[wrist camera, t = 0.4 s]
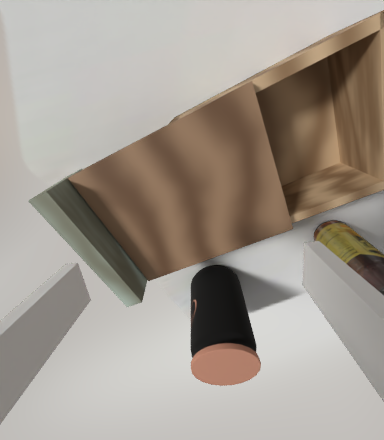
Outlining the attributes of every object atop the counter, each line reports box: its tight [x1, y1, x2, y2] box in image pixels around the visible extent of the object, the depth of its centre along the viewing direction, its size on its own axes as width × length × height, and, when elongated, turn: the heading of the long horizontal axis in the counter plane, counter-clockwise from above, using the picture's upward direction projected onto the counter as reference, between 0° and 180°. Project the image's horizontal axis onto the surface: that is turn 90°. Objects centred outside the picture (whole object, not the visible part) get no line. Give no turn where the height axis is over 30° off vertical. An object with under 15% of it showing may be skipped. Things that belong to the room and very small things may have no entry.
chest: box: [169, 10, 384, 223], centre depth 29 cm, size 22×18×10 cm
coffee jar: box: [191, 265, 261, 385], centre depth 40 cm, size 11×11×18 cm
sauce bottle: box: [314, 220, 384, 291], centre depth 33 cm, size 6×6×20 cm
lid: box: [29, 81, 293, 307], centre depth 27 cm, size 25×18×8 cm
